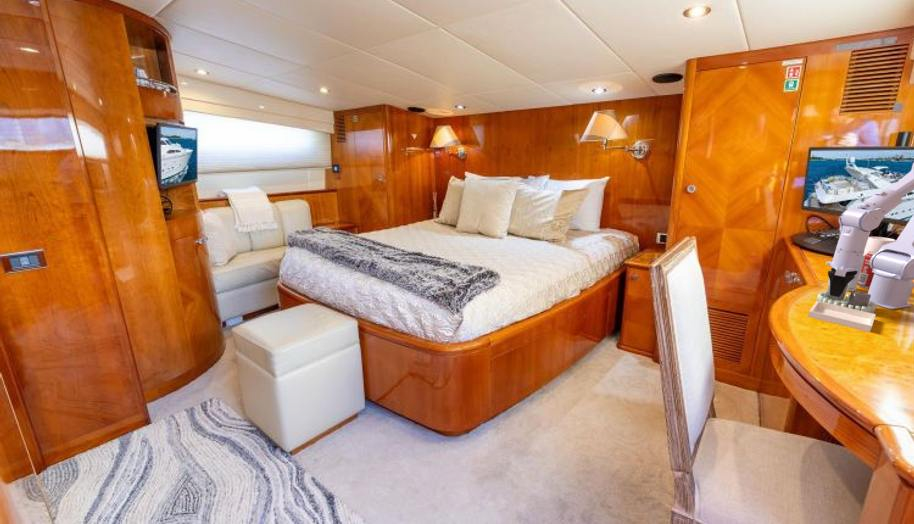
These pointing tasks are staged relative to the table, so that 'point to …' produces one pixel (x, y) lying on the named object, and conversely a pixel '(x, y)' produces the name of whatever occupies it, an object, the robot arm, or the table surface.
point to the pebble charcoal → (858, 299)
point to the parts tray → (842, 316)
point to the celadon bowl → (843, 303)
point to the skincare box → (853, 283)
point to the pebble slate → (835, 296)
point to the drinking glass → (876, 244)
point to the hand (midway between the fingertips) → (835, 294)
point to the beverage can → (866, 272)
